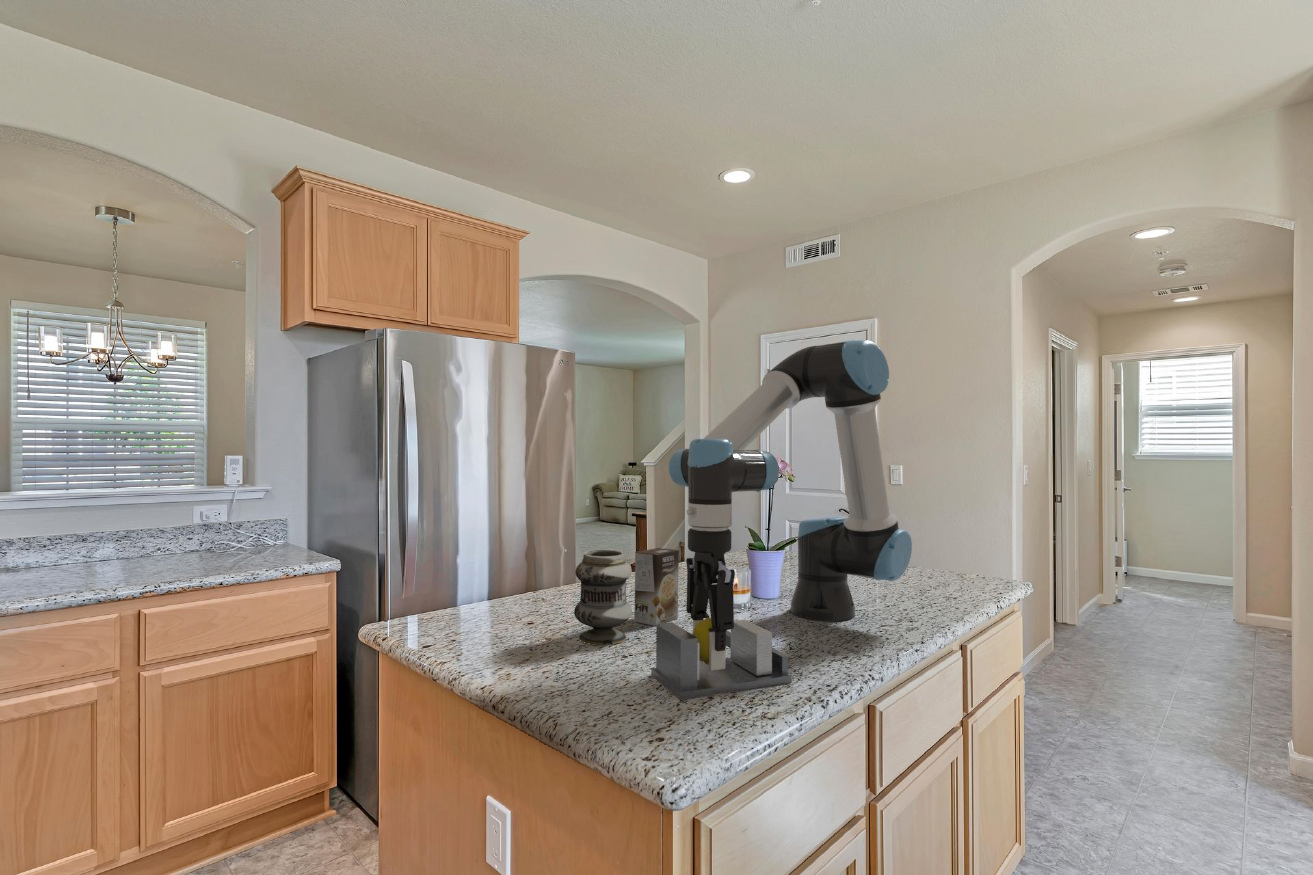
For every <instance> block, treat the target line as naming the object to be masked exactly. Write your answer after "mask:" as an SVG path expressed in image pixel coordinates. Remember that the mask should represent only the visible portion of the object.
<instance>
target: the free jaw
mask: <svg viewBox="0 0 1313 875" xmlns="http://www.w3.org/2000/svg"><path fill="white" fill-rule="evenodd" d="M726 648H729V649H730V658H731V660H732V661H734V662H735V663H737V664H738V665H740V666H742V667H743V668H745V669H746V670H748V671H750V672H751V673H753V674H755V675H756V676H759V675H766V674H772V648H773V632H772V631H769V630H767V629H766V628H764V627H761V626H759V625H758V624H755V623H754V622H751V621H749V620H747V619H740V620H739V619H737V620H736V619H735V620H734V628H733V629H730V631H729V630H727V631H726Z"/></svg>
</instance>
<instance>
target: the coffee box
mask: <svg viewBox="0 0 1313 875" xmlns="http://www.w3.org/2000/svg"><path fill="white" fill-rule="evenodd" d="M634 559H635V562H634V563H635V564H634V568H635V569H634V610H633V611H634V618H633V620H634V623H640V624H643V625H648V626H653V627H655V626H657V624H661V623H669V622H671V621H674V620H676V619H678V618H679V577H680V576H679V572H680V571H679V570H680V569H679V568H680V567H679V566H680V564H679V563H680V560H679V559H680V550H679V549H671V548H661V547H656V548H651V549H645V550H639V551H638V550H637V551H635V558H634Z"/></svg>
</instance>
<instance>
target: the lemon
mask: <svg viewBox="0 0 1313 875" xmlns="http://www.w3.org/2000/svg"><path fill="white" fill-rule="evenodd" d="M709 628H712V622H711V617H709V618H704V619H703V621H701V622H699V623H698V624H697V625H696V627H695V629H694V632H693V631H692V635H694V636H695V637H697V638H698V642H699V661H701V662H703V661H704V662H705V664H707V665H709V630H708V629H709Z"/></svg>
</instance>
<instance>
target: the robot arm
mask: <svg viewBox="0 0 1313 875" xmlns="http://www.w3.org/2000/svg"><path fill="white" fill-rule="evenodd" d="M889 378H890V369H889V364H888V360H887V357H886V356H885V354H884V351H883V350H882V349H881V348H880V347H879V346H878V344H876V343H875V342H873V341H871V340H866V339H865V340H864V339H863V340H861V339H859V340H855V339H854V340H853V339H851V340H847V341H840V342H834V343H827V344H820V345H811V346H807V347H805V348H801V349H799V350H797V351H795V352H793V353H792V354H790V355H789V356H787V357H786V358H784V359H783V360H781V361H780V362H779V363H778V364H776V365H775V366H774V367H773V368H772V369H770V370H769V371H768V372H767V373H766V374H765V375H764V377H763V379H762V381H761V384H760V386H758V388H756V389H755V390H754V391H753V392H752V393H751V394H750V395H749V396H748V397H747V398H746V399H744V400H743V402H741V403H740V404H739V405H738V406H737V407H736V408H735V409H734V410H733V411H731V413H729V414H728V415H727V416H726V417H724V419H723V420H722V421H720V423H718V424H717V425H716V426H715V427H714V428H713V429H712V430H711V431H710V432H709V433H708V434H707V435H705V437H704V438H695V439H694V438H693V440H691V441H690V442H689V448H684V449H679V450H676V451H675V452H674V453H672V455H671V457H670V459H669V462H668V474H669V476H670V479H671V480H672V481H673V483H674V484H676V485H678V486H680V487H686V488H688V489H687V490H688V506H687V507H688V509H687V510H686V514H687V516H688V517H687V518H688V521H687V523H688V526H690V527H691V528H689V529H688V530H687V549H688V550H689V551H690V552H692V553H694V556H693V557H689V558H688V557H687V558H686V560H685V562H686V570H687V573H686V577H687V578H686V606H685V608H686V613H687V614H690V618H691V620H692V633H693V632H694V629H695V627H696V625H697V624H698V623H699V622H701V621H703V620H704V619H706V618H711V622H712V628H709V629H708V630H709V669H710V670H711V671H712V670H719V669H725V658H726V648H727V646H726V631H729V630H730V631H731V629H733V628H734V621H735V616H734V615H735V614H734V612H735V610H734V607H735V606H734V583H735V582H734V581H735V578H736V577H735V575H736V571H735V570H734V569H733V568H731V569H728V568H727V565H726V564H727V563H726V559H725V554H726V553H728V552H729V553H730V551H731V550H732V531H731V529H730V528H731V527H732V525H733V524H732V523H733V522H732V519H733V518H732V516H733V515H732V514H733V513H732V512H733V511H732V510H733V509H732V507H733V506H732V504H733V503H732V502H733V500H732V499H733V498H732V497H733V496H732V495H733V493H735V492H736V493H737V492H738V493H740V492H743V493H744V492H757V493H758V492H760V491H765V490H766V491H767V490H769V489H771V488H773V487H774V485H775V484H776V483H777V481H778V479H779V475H780V466H779V461H778V460H777V459H776V457H775V456H774V454H772V453H771V452H768V451H766V450H760V449H751V450H750V449H747V448H748V447H749V446H750V445H751V444H752V443H753V442H754V441H755V440H756V439H757V438H758V437H759V436H760V435H761V434H762V433H763V432H764V431H765V430H766V429H767V428H768V427H769V426H770V425H771V424H772V423H773V422H774V421H775V420H776V419H778V417H779V416H780V415H781V414H782V413H783V412H784V411H786V409H791V408H794V407H795V406H796V405H797V404H799V403H800V402H801V401H803V400H807V399H811V398H824V401H825V402H824V403H825V408H826V409H827V410H829V411H830V412H832V413H833V415H834V421H835V426H836V427H835V428H836V435H837V440H838V448H839V453H840V454H839V455H840V461H841V468H842V475H843V482H844V487H845V495H846V500H847V507H848V508H847V509H848V514H849V515H848V516H847V517H844V516H843V517H842V516H840V517H838V516H837V517H834V516H833V517H819V518H812V519H811V518H810V519H805V520H802V521H801V522H800V523H799V524H798V533H797V549H798V550H797V564H798V565H797V566H798V568H797V572H798V574H797V582H796V585H795V588H794V592H793V596H792V598H791V601H790V612H791V613H792V614H794V615H795V616H797V617H800V618H805V619H808V620H809V619H810V620H814V621H816V620H817V621H826V622H827V621H829V622H830V621H831V622H833V621H836V622H837V621H838V622H839V621H844V620H850V619H852V618H854V617H855V616H856V605H855V603H854V600H853V597H852V593H851V590H850V587H849V583H848V582H849V581H848V575H849V576H856V577H860V578H861V577H862V578H867V579H871V580H876V581H888V582H894V581H897V580H899V579H900V578H901V577H902V576H903V575H904V574H905V572H906V571H907V569H908V567H909V564H910V562H911V557H912V550H913V541H912V537H911V534H909V532H908V531H907V530H905V529H903V528H899V521H898V518H897V516H896V515H895V514H893V513H891V511H890V509H889V500H888V495H887V493H888V492H887V488H886V487H887V486H886V480H885V473H884V466H883V458H882V450H881V443H880V436H879V430H878V423H877V422H878V421H877V416H876V414H877V413H876V407H877V405H878V404H879V403H880V402H881V400H882V398H881V393H884V391H885V390H886V389H887V387H888V385H889ZM746 449H747V450H746ZM708 605H709V612H710V615H709V614H708V612H707V610H708Z"/></svg>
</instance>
